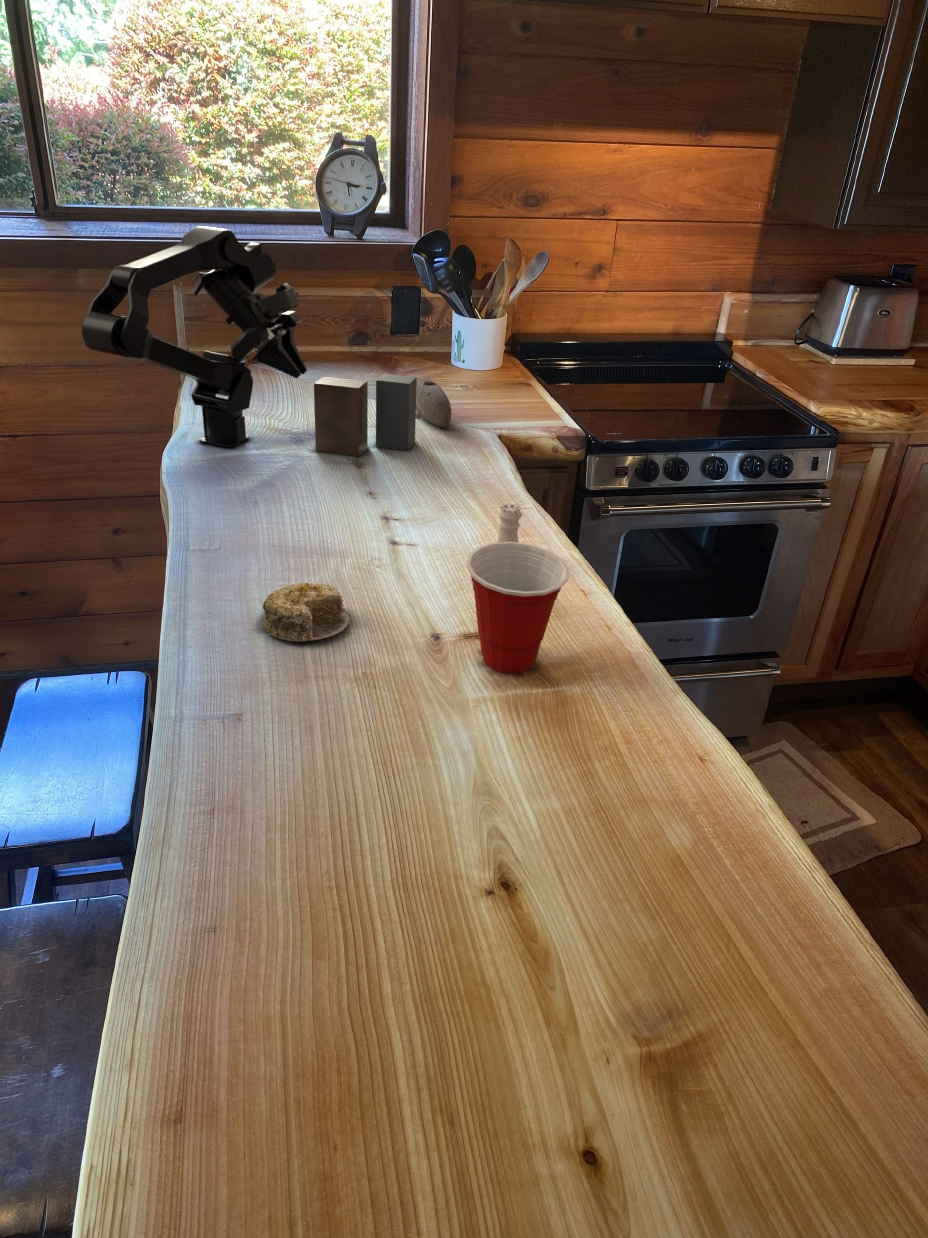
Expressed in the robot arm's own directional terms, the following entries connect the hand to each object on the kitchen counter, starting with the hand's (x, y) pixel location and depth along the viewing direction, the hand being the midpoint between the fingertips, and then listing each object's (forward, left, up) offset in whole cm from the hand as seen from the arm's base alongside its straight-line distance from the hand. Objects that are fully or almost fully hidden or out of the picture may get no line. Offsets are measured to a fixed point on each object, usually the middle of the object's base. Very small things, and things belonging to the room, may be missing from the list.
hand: (302, 374), depth 155 cm
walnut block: (+7, +1, -13) cm, 14 cm away
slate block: (+14, +9, -13) cm, 21 cm away
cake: (+34, -56, -13) cm, 67 cm away
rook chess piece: (+49, -29, -13) cm, 58 cm away
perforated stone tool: (+14, +26, -13) cm, 32 cm away
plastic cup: (+58, -53, -13) cm, 80 cm away
